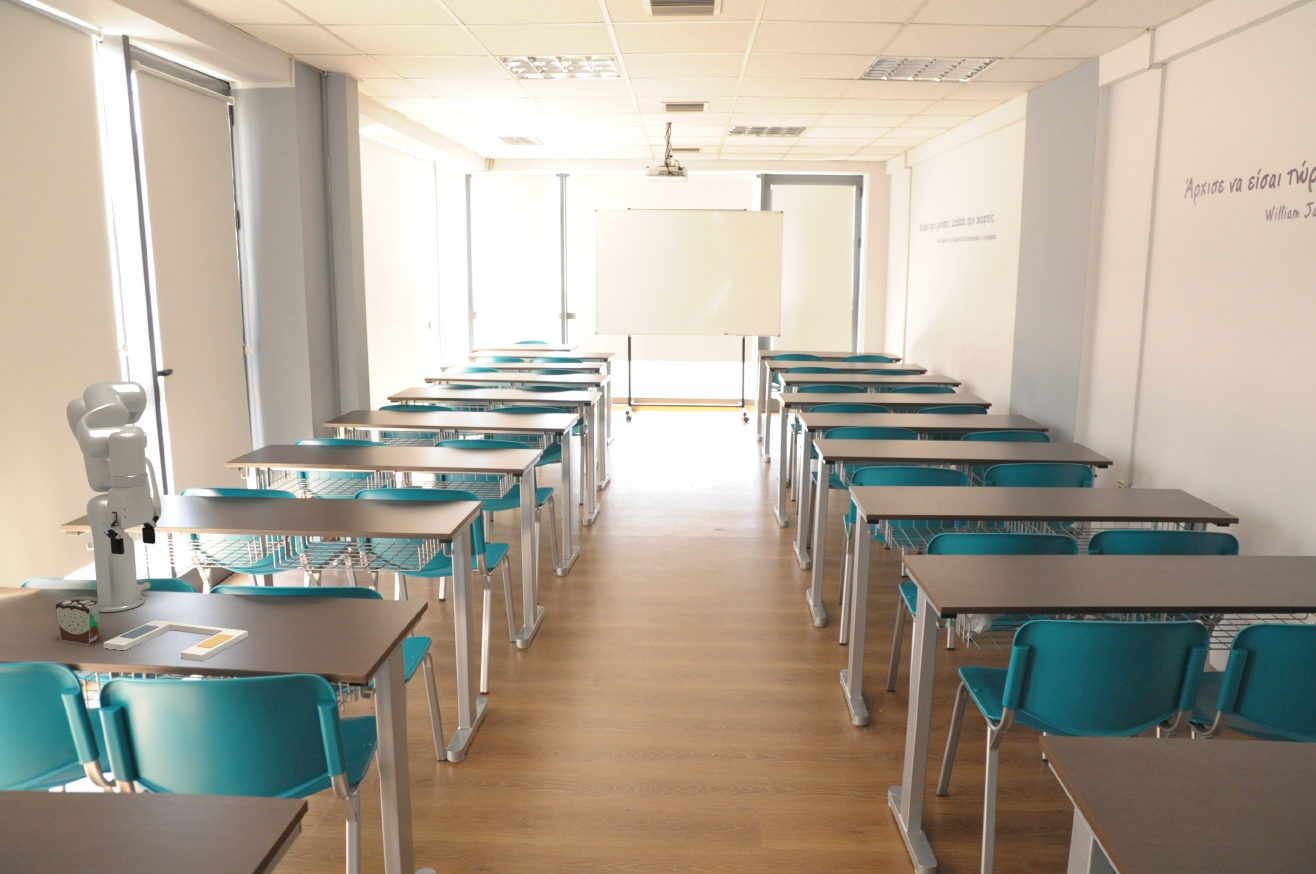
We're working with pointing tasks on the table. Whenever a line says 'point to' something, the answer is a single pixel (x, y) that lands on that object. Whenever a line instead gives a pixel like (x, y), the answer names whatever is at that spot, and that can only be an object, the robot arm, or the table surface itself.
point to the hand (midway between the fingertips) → (133, 548)
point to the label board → (197, 652)
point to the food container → (78, 619)
